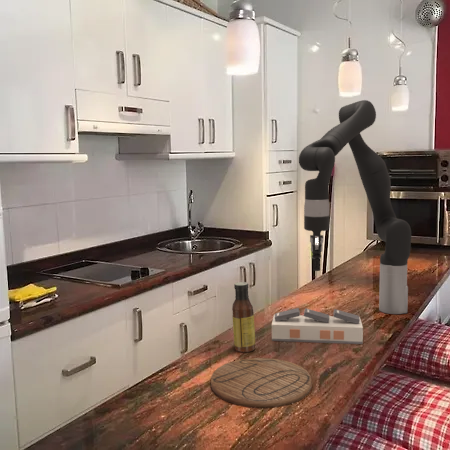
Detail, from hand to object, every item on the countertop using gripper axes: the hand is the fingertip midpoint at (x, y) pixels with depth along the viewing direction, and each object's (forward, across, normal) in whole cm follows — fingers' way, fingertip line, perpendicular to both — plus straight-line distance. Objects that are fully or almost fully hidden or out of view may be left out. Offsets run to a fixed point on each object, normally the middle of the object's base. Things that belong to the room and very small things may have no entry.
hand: (316, 270), depth 159 cm
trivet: (+22, -35, +14) cm, 43 cm away
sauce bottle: (+21, -13, +21) cm, 33 cm away
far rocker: (+15, 0, +9) cm, 18 cm away
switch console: (+21, 0, 0) cm, 21 cm away
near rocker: (+15, 0, -9) cm, 18 cm away
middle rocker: (+15, 0, 0) cm, 15 cm away
